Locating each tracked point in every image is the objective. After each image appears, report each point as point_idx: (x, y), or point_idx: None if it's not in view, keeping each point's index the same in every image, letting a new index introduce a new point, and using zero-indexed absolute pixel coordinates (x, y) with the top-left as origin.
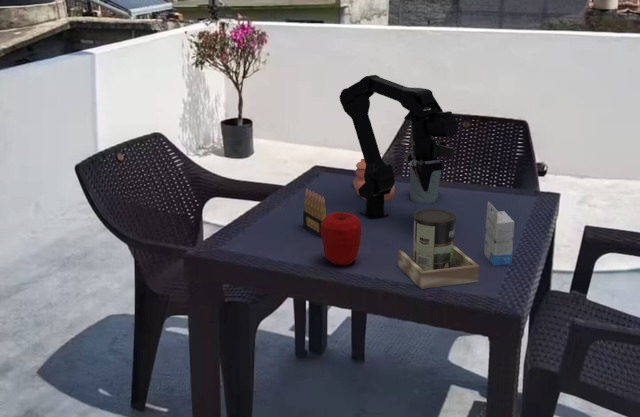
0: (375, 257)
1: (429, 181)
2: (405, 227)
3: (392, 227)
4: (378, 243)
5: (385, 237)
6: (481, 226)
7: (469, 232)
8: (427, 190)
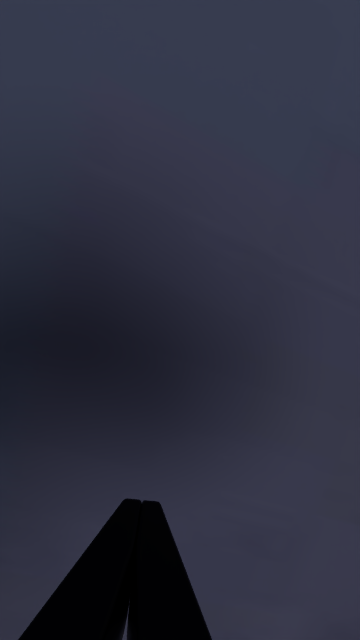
0: (349, 602)
1: (208, 636)
2: (74, 427)
3: (61, 481)
4: (230, 571)
5: (175, 535)
6: (154, 22)
7: (223, 144)
8: (161, 510)
